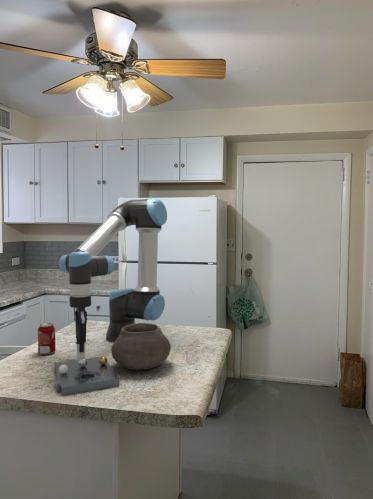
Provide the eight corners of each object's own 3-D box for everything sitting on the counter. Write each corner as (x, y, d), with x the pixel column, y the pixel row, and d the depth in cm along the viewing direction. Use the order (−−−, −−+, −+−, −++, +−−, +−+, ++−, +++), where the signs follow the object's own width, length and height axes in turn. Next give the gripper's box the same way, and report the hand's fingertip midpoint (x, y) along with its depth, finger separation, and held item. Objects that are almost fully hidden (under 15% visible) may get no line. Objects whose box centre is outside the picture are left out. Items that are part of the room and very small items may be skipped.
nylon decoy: (67, 371, 132) (67, 362, 132) (68, 374, 130) (68, 365, 129) (58, 372, 131) (58, 363, 131) (59, 375, 128) (59, 366, 128)
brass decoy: (106, 362, 141) (106, 354, 141) (108, 365, 138) (108, 357, 138) (98, 363, 140) (98, 355, 139) (99, 366, 137) (99, 358, 137)
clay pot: (122, 382, 129) (121, 338, 128) (104, 362, 148) (104, 324, 147) (180, 371, 139) (180, 330, 138) (156, 354, 158) (156, 318, 157)
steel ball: (86, 356, 139) (87, 358, 136) (87, 365, 138) (88, 367, 136) (77, 357, 137) (78, 359, 134) (77, 366, 137) (79, 368, 134)
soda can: (49, 356, 155) (49, 327, 155) (34, 355, 157) (34, 326, 156) (58, 351, 162) (58, 323, 161) (44, 350, 163) (43, 322, 163)
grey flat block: (51, 370, 140) (51, 363, 140) (106, 362, 148) (106, 355, 148) (58, 396, 118) (58, 388, 118) (122, 385, 126) (121, 377, 126)
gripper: (67, 293, 142) (68, 356, 143) (71, 299, 130) (72, 367, 131) (88, 291, 145) (88, 353, 146) (94, 297, 133) (94, 364, 134)
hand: (81, 360), depth 138 cm, fingers closed
